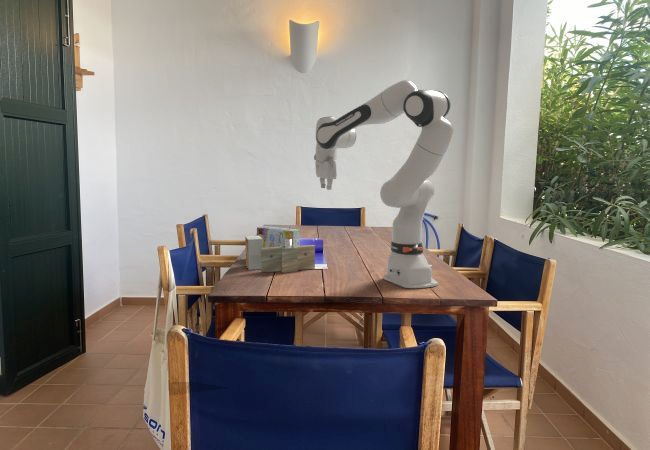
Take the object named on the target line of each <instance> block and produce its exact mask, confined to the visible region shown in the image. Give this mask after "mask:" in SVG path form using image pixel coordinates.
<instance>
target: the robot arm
mask: <svg viewBox="0 0 650 450" xmlns="http://www.w3.org/2000/svg"><path fill="white" fill-rule="evenodd" d="M450 110H451V101H450V98H449V96H448V95H447V94H446V93H444V92H442V91H439V90H433V89H418V88H417V86H416V84H415V83H414V82H412V81H410V80H408V79H403V80H400V81H398V82H396V83H394V84H392V85H391V86H388V87H387V88H385V89H384V90H382V91H381V92H380V93H378V94H377V95H375V96H373V97H372V98H371V99H369V100H367V101H366V102H364V103H362V104H360V105H359V106H357V107H355V108H354V109H352V110H351V111H349V112H347V113H345V114H344V115H342V116H340V117H338V118H335V117H334V116H325V117H321V118H319V119H317V121H316V125H315V141H316V142H315V143H316V145H315V153H314V156H313V159H314V161H315V162H314V164H315V175H316V178H319V183H320V188H321V189H325V188H326V190H327V191H328V190H329V191H330V190H331V191H332V189H333V188H332V186H333V182H334V181H333V180H336V179H337V175H338V174H337V162H336V161H337V149H348V148H351V147H353V146H354V145H355V143H356V140H357V133H356V130H355V129H356V128H358V127H360V126H366V125H367V126H368V125H380V124H381V125H382V124H383V125H384V124H385V123H389V122H390V121H393V120H395V119H396V118H398V117H400V116H402V114H404V115H406V117H407V118H408V119H409V120H410V121H412V123H414V124H415V126H416V127H418V128H421V130H420V131H421V132H420V134H419V136H418V138H417V139H416V142H415V144H414V146H413V147H412V150H411V152H410V154H409V156H408V158H406V161H405V162H404V163H403V165H402V166H401V167H400V168H399V170H397V172H396V173H395V174H393V176H391V178H390V179H389V180H387V181H386V182H384V183H383V184H382V186H381V187H380V192H379V195H380V199H381V202H383V204H384V205H385V206H387V207H391V208H397V209H398V208H399V211H398V213H397V215H396V217H395V218H394V219H393V222H392V234H391V237H392V238H391V239H392V241H391V242H390V251H391V253H390V255H388V257H387V262H386V271H385V272H386V273H385V274H384V275H383V276H382V279H383V280H385V281H388V282H390V283H392V284H395V285H396V286H399V287H402V288H404V289H424V288H431V287H437V286H438V285H439V282H438V281H437V280H436V279H434V278H433V277H432V275H433V274H432V271H433V265H432V264H429V262H428V260H427V258H426V256H425V255H424V246H423V242H422V231H423V230H422V228H423V220H424V217H425V212H426V210H427V207H428V204H429V203H430V202H431V200H432V199H433V197H434V195H435V188H434V185H433V183H432V182H431V181H430V180H429V178H430V177H431V176H433V175H434V174H435V172H437V169H438V167H439V165H440V164H441V162H442V161H443V157H444V156H445V154H446V153H447V149H448V148H449V145H450V142H451V140H452V137H453V135H454V134H453V133H454V127H453V124H452V123H451V122H450V121H449V120H448V119H446V118H445V117H446V116H448V114H449V112H450Z"/></svg>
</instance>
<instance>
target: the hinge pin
mask: <svg viewBox="0 0 650 450" xmlns="http://www.w3.org/2000/svg"><path fill="white" fill-rule="evenodd" d="M285 248H292V239H285Z"/></svg>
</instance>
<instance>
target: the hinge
mask: <svg viewBox="0 0 650 450" xmlns="http://www.w3.org/2000/svg"><path fill="white" fill-rule="evenodd" d="M315 266H316V245H315V244H311V245H310V244H307V245H300V246H295V245H292V248H285V245H283V246H279V247H269V248H261V269H260V270H261V273H272V272H273V273H275V272H281V273H284V274H285V273H294V272H298V271H302V270H314V269H316V267H315Z"/></svg>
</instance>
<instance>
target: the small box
mask: <svg viewBox="0 0 650 450" xmlns="http://www.w3.org/2000/svg"><path fill="white" fill-rule="evenodd" d="M244 239H245V240H244V241H245V266H246V267H247V269H248V271H251V270H252V271H253V270H261V248H263V239H262V238H261V237H260V236H257V235H249V236H245V237H244Z"/></svg>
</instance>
